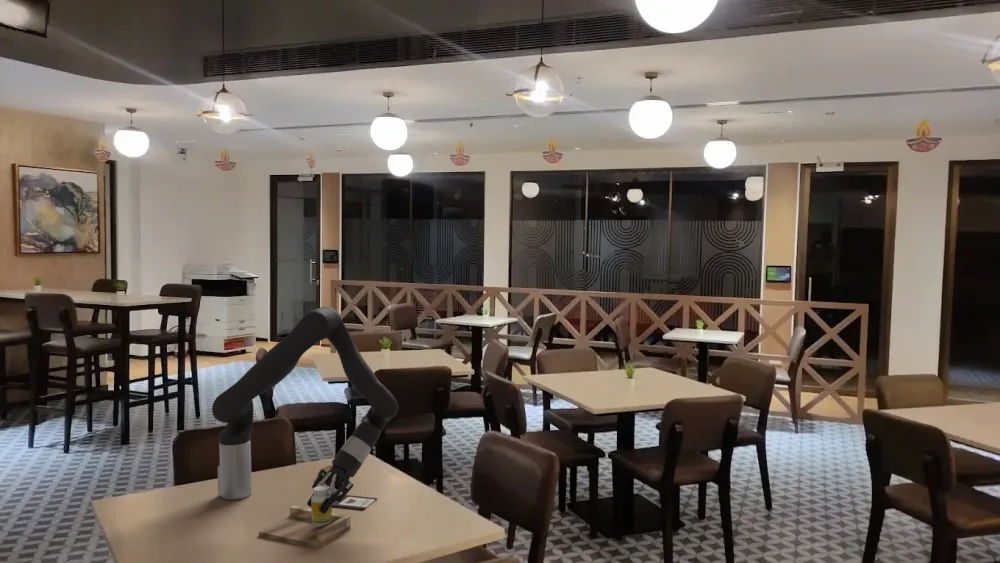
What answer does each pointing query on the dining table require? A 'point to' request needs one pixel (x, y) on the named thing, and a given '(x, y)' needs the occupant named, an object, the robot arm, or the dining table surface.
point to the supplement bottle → (316, 502)
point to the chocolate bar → (354, 502)
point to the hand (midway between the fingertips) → (315, 508)
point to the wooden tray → (306, 528)
